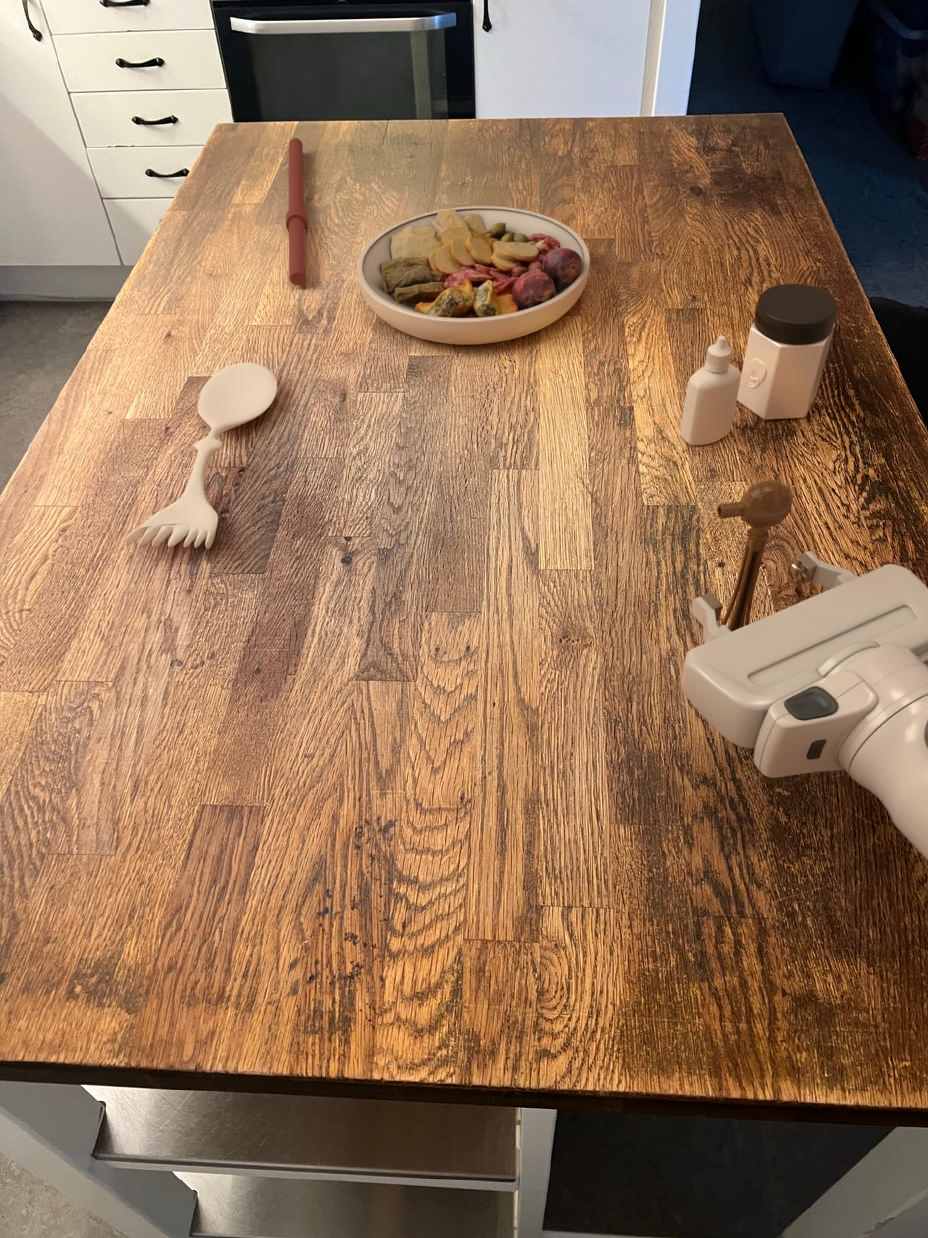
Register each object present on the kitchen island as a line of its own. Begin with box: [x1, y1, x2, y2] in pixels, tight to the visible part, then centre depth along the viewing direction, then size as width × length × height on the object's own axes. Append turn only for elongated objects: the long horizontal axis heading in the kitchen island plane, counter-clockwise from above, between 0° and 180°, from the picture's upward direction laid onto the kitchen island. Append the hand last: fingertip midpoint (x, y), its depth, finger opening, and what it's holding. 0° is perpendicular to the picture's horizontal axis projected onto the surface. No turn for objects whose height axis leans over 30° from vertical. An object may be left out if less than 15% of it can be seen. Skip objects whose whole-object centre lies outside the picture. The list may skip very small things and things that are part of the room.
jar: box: [737, 283, 839, 421], centre depth 105 cm, size 9×8×12 cm
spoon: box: [124, 362, 278, 550], centre depth 105 cm, size 9×32×4 cm, turn 174°
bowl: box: [356, 205, 591, 346], centre depth 125 cm, size 30×30×8 cm
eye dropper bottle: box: [679, 335, 741, 446], centre depth 101 cm, size 4×6×12 cm
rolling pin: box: [285, 137, 309, 286], centre depth 144 cm, size 45×3×3 cm, turn 7°
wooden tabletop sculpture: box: [702, 480, 794, 644], centre depth 77 cm, size 6×5×20 cm
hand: (749, 579), depth 75 cm, fingers open, 8 cm apart
